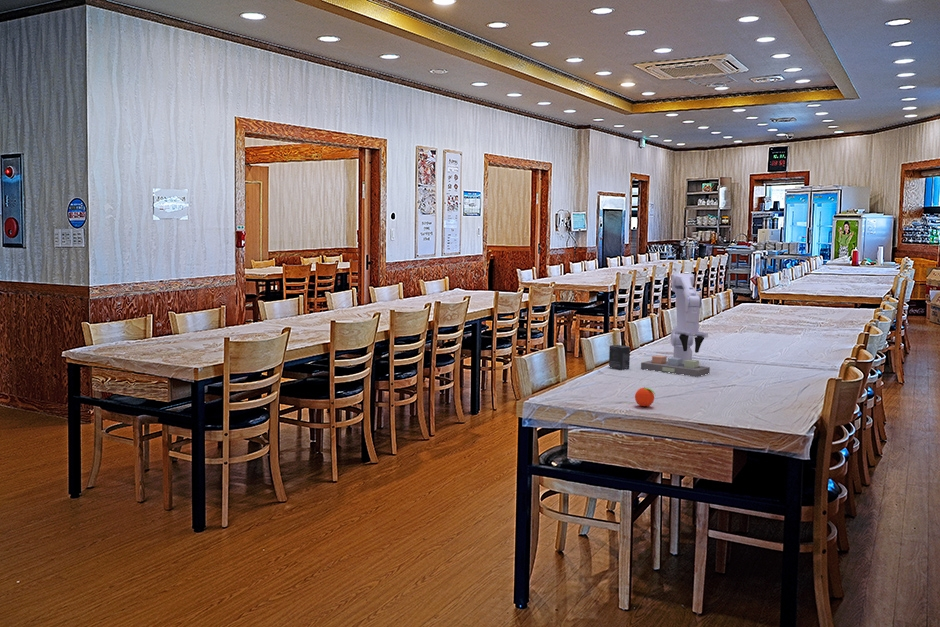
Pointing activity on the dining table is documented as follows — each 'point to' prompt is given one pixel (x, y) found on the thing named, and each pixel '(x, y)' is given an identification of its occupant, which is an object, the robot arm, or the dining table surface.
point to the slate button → (675, 361)
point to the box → (619, 356)
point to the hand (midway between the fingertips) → (690, 351)
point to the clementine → (644, 396)
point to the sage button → (691, 363)
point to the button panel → (675, 368)
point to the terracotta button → (659, 359)
